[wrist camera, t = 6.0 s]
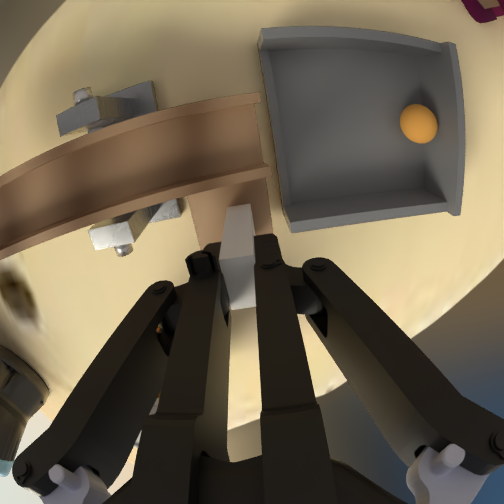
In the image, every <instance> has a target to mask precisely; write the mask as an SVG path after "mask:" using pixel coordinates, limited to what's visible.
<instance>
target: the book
mask: <svg viewBox="0 0 504 504" xmlns="http://www.w3.org/2000/svg"><path fill="white" fill-rule="evenodd" d="M461 1H462V2H463V4H464V6H465V7H466V9H467V10H468V12H469V14H470V15H471V16H472V17H473V18H474V20H475V21H476V22H479V23H486V22H489V21H493V20H496V19H497V18H496V17H499V16H503V15H504V0H461Z"/></svg>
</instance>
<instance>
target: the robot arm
mask: <svg viewBox="0 0 504 504" xmlns="http://www.w3.org/2000/svg"><path fill="white" fill-rule="evenodd" d="M185 261H186V264H187V268H188V271H189V274H190V278H189V282H187V283H185V284H183V285H180V286H177V287H174V285H173V283H172V282H171V281H167V280H165V281H158V282H155V283H154V284H152V285H151V286H149V287H148V288H147V290H146V291H145V292H144V293H143V295H142V296H141V297H140V298H139V300H138V301H137V302H136V304H135V305H134V306H133V307H132V309H131V310H130V311H129V313H128V314H127V315H126V317H125V318H124V319H123V321H122V322H121V323H120V325H119V326H118V327H117V329H116V330H115V331H114V333H113V334H112V335H111V337H110V338H109V339H108V341H107V342H106V343H105V345H104V346H103V348H102V349H101V350H100V352H99V353H98V355H97V356H96V357H95V359H94V360H93V362H92V363H91V365H90V366H89V367H88V369H87V370H86V372H85V373H84V375H83V376H82V378H81V379H80V380H79V382H78V383H77V385H76V386H75V388H74V389H73V391H72V392H71V394H70V395H69V397H68V398H67V400H66V402H65V403H64V405H63V406H62V408H61V409H60V411H59V412H58V414H57V416H56V417H55V419H54V420H53V422H52V424H51V425H50V427H49V428H48V429H47V430H46V431H45V432H44V433H43V434H42V435H41V436H40V437H38V438H37V439H36V440H35V441H34V442H33V443H32V444H31V445H29V446H28V447H27V448H26V449H25V450H24V451H23V452H22V453H21V454H20V455H19V456H17V458H16V459H15V456H16V453H17V450H18V447H19V443H20V441H21V438H22V435H23V433H24V430H25V427H26V424H27V422H28V420H29V419H30V418H31V417H32V416H33V415H34V414H35V413H36V412H37V411H38V410H39V409H40V408H41V407H42V406H43V405H44V404H45V402H46V400H47V398H48V396H49V391H48V388H47V387H46V385H45V383H44V382H43V381H42V379H41V378H40V377H39V376H38V375H37V374H36V373H35V372H34V371H33V370H32V369H31V368H30V367H29V366H28V365H27V364H26V363H25V362H24V361H22V360H21V359H20V358H19V357H17V356H16V355H15V354H13V353H12V352H10V351H9V350H7V349H5V348H4V347H1V346H0V476H7V475H8V474H9V472H10V470H11V467H12V474H13V477H14V480H15V481H16V483H17V484H18V485H20V486H21V487H23V488H24V489H26V490H28V491H30V492H32V493H34V494H36V495H37V496H39V497H40V498H41V499H42V501H43V503H44V504H407V503H406V502H404V501H402V500H400V499H399V498H397V497H395V496H394V495H392V494H391V493H389V492H388V491H386V490H384V489H383V488H381V487H380V486H378V485H377V484H375V483H374V482H372V481H371V480H369V479H368V478H366V477H365V476H363V475H362V474H360V473H359V472H357V471H356V470H355V469H353V468H352V467H351V466H349V465H347V464H345V463H343V462H342V461H339V460H336V459H334V458H330V455H329V449H328V444H327V439H326V434H325V429H324V424H323V419H322V414H321V410H320V407H319V404H317V402H316V399H315V394H314V389H313V384H312V380H311V375H310V370H309V366H308V361H307V356H306V352H305V347H304V343H303V338H302V334H301V329H300V325H299V321H298V316H297V314H305V316H306V319H307V320H308V322H309V323H310V325H311V326H312V328H313V329H314V331H315V332H316V334H317V335H318V337H319V338H320V340H321V341H322V343H323V344H324V346H325V347H326V349H327V351H328V352H329V354H330V355H331V357H332V358H333V360H334V361H335V363H336V364H337V366H338V367H339V369H340V370H341V372H342V373H343V375H344V376H345V378H346V379H347V381H348V382H349V384H350V385H351V387H352V388H353V390H354V391H355V393H356V394H357V396H358V397H359V399H360V400H361V402H362V403H363V405H364V406H365V408H366V410H367V411H368V413H369V414H370V416H371V417H372V419H373V420H374V422H375V423H376V425H377V426H378V428H379V429H380V431H381V433H382V434H383V436H384V437H385V439H386V440H387V442H388V443H389V445H390V446H391V448H392V449H393V450H394V452H395V453H396V454H397V456H398V457H399V458H400V459H401V460H402V461H403V462H404V463H405V464H406V465H407V466H408V467H410V468H409V469H408V472H407V475H406V482H407V486H408V488H409V489H410V490H411V491H412V493H413V494H414V495H415V499H416V504H471V502H472V501H473V499H474V498H475V496H476V495H477V493H478V492H479V490H480V488H481V486H482V485H483V483H484V482H485V480H486V478H487V477H488V475H489V474H490V473H491V472H493V471H494V470H496V469H497V468H499V467H500V466H502V465H503V464H504V419H502V418H500V417H499V416H497V415H495V414H493V413H492V412H490V411H488V410H486V409H484V408H482V407H481V406H479V405H477V404H476V403H474V402H472V401H470V400H469V399H467V398H465V397H463V396H462V395H461V394H460V393H459V392H458V391H457V390H456V389H455V387H454V386H453V385H452V384H451V383H450V382H449V381H448V379H447V378H446V377H445V376H444V375H443V374H442V373H441V372H440V371H439V369H438V368H437V367H436V366H435V365H434V364H433V363H432V362H431V361H430V359H428V357H427V356H426V355H425V354H424V353H423V352H422V351H421V350H420V349H419V348H418V347H417V346H416V344H415V343H414V342H413V341H412V340H411V339H410V338H409V337H408V336H407V335H406V334H405V333H404V332H403V331H402V330H401V329H400V328H399V327H398V326H397V325H396V324H395V323H394V321H393V320H392V319H391V318H390V317H389V316H388V315H387V314H386V313H385V312H384V311H383V310H382V309H381V308H380V307H379V306H378V305H377V304H376V303H375V302H374V301H373V300H372V299H371V298H370V297H369V296H368V295H367V294H366V293H365V292H364V291H363V290H362V289H361V288H359V287H358V286H357V285H356V284H355V283H354V282H353V281H352V280H351V279H350V278H349V277H348V276H347V275H346V274H345V273H344V272H343V271H342V270H341V269H340V268H339V267H338V266H337V265H336V264H334V263H333V262H332V261H331V260H329V259H326V258H321V257H320V258H319V257H317V258H312V259H309V260H307V261H306V262H305V263H304V264H303V266H302V268H297V267H291V266H288V265H286V264H285V262H284V261H283V259H282V255H281V251H280V247H279V243H278V239H277V236H275V235H274V234H273V233H269V234H263V235H255V229H254V223H253V217H252V211H251V205H250V204H244V205H238V206H231V207H227V211H226V217H225V223H224V229H223V236H222V242H215V243H209V244H207V245H206V246H205V247H204V248H203V250H200V251H196V252H194V253H192V254H190V255H189V256H187V258H186V259H185ZM229 303H230V307H231V310H236V309H244V308H251V307H256V314H257V331H258V347H259V364H260V381H261V398H262V412H261V414H260V425H261V444H262V455H260V456H257V457H253V458H250V459H246V460H243V461H239V462H230V460H229V456H228V452H227V420H228V387H229V359H230V334H231V314H230V311H229ZM158 325H159V326H160V330H159V331H158V332H157V331H156V330H157V327H158ZM160 391H161V393H160ZM159 393H160V398H159V403H158V408H157V411H156V413H155V414H151V415H149V414H150V412H151V410H152V408H153V406H154V404H155V402H156V400H157V397H158V395H159ZM141 430H142V431H141ZM140 432H141V435H140V440H139V445H138V450H137V455H136V460H135V466H134V471H133V477H132V478H131V479H130V480H129V481H127V482H126V483H125V484H124V485H123V486H122V487H121V488H120V489H118V490H117V491H116V492H115V493H114V494H113V495H111V494H110V493H109V492H108V491H107V489H108V488H109V487H110V486H111V485H112V484H113V483H114V481H115V480H116V478H117V477H118V476H119V474H120V472H121V471H122V468H123V467H124V465H125V463H126V461H127V459H128V457H129V455H130V453H131V451H132V449H133V446H134V444H135V442H136V440H137V438H138V436H139V434H140ZM14 459H15V461H14ZM12 465H13V466H12Z"/></svg>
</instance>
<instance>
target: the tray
mask: <svg viewBox="0 0 504 504" xmlns="http://www.w3.org/2000/svg"><path fill="white" fill-rule="evenodd" d="M257 44H258V50H259V55H260V61H261V66H262V72H263V78H264V84H265V90H266V96H267V102H268V109H269V115H270V121H271V128H272V135H273V142H274V149H275V156H276V163H277V170H278V178H279V185H280V193H281V201H282V209H283V214H284V217H285V219H286V222H287V224H288V227H289V229H290V232H291V233H297V232H304V231H310V230H317V229H324V228H331V227H338V226H344V225H351V224H358V223H365V222H372V221H380V220H387V219H394V218H401V217H409V216H416V215H424V214H431V213H439V212H446V211H447V212H448V213H450V214H451V215H453V216H458V215H460V213H461V205H462V196H463V185H464V170H465V115H464V100H463V89H462V81H461V73H460V67H459V60H458V55H457V49H456V44H454V43H450V42H444V43H437V42H434V41H430V40H426V39H422V38H417V37H412V36H408V35H402V34H397V33H391V32H385V31H378V30H370V29H360V28H349V27H331V26H291V27H273V28H261V31H260V35H259V39H258V43H257ZM412 104H420V105H423V106H425V107H427V108H428V109H430V110H431V111H432V113H433V114H434V115H435V117H436V120H437V124H438V129H437V133H436V135H435V137H434V138H433V139H432V140H431V141H429V142H427V143H422V144H421V143H415V142H413V141H411V140H410V139H408V138H407V137H406V136H405V135H404V133H403V131H402V129H401V126H400V116H401V113H402V111H403V110H404V109H405V108H406V107H407V106H409V105H412Z"/></svg>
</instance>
